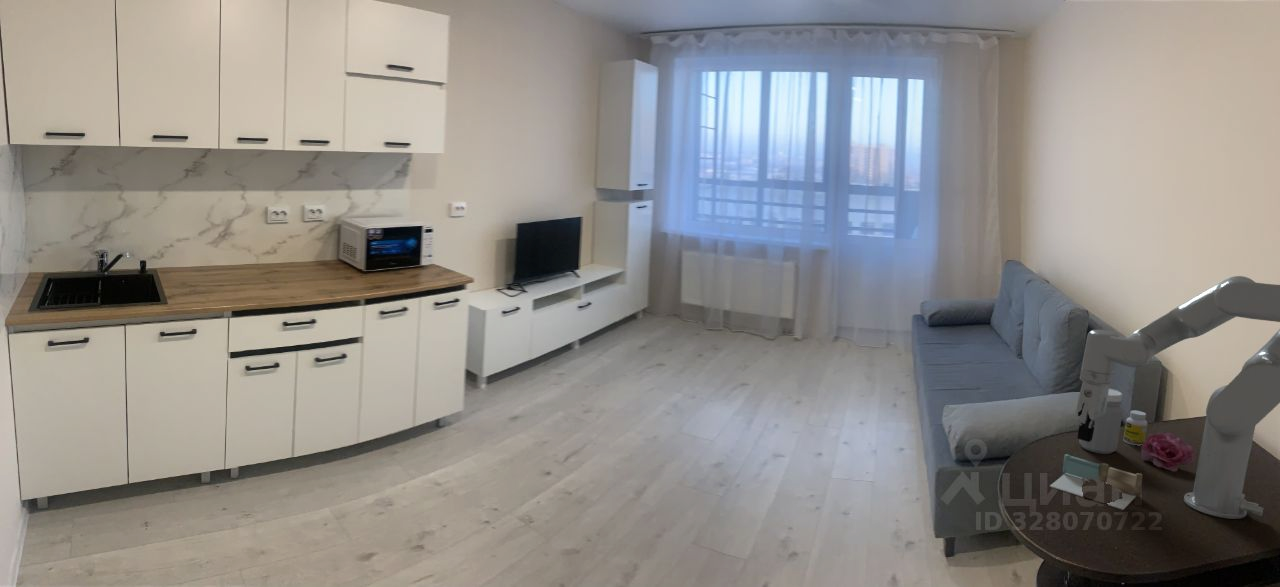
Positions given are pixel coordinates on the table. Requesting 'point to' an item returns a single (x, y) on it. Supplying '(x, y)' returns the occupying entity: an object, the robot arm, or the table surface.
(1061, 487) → the card
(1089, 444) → the jar
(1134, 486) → the fence fixed
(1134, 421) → the supplement bottle
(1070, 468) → the fence gate
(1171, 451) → the flower
